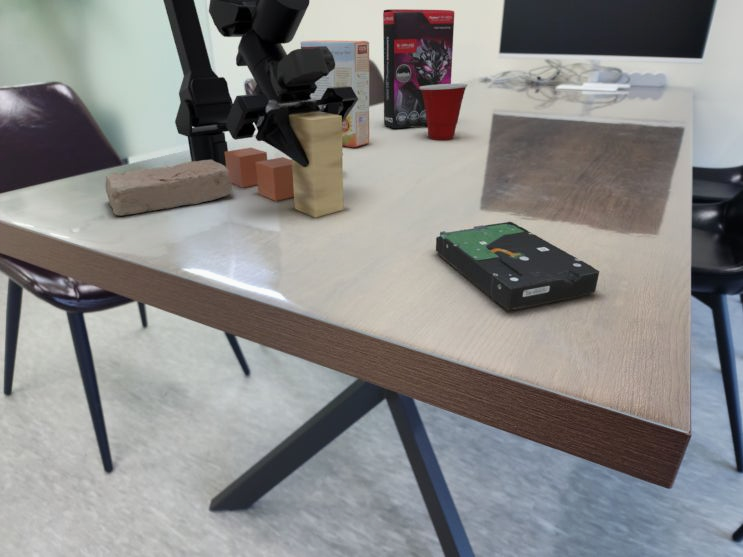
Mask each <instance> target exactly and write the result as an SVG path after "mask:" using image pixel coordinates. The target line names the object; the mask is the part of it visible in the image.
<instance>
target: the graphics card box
mask: <svg viewBox="0 0 743 557" xmlns="http://www.w3.org/2000/svg"><path fill="white" fill-rule="evenodd" d="M455 13H456V12H455V10H452V9H451V10H450V9H414V8H413V9H412V8H411V9H404V8H403V9H401V8H400V9H397V8H394V9H393V8H391V9H384V10H383V12H382V26H383V27H382V29H383V31H382V32H383V40H382V41H383V125H384V126H385V127H389V128H390V129H391V128H392V129H404V128H412V127H414V128H415V127H422V126H423V127H424V126H427V120H426V112H425V103H424V98H423V94H422V91H421V89H420V87H421V86H427V85H438V84H452V72H453V71H452V69H453V53H454V52H453V50H454V29H455Z"/></svg>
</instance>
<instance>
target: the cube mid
mask: <svg viewBox="0 0 743 557" xmlns="http://www.w3.org/2000/svg"><path fill="white" fill-rule="evenodd" d="M255 164H256V174H257V184H258V185H257V193H258V195H260V196H262V197H264V198H267V199H270V200H272V201H275V202H278V201H282V200H286V199H290V198H294V187H293V172H292V159H291V158H288V157H287V158H286V157H283V156H281V157H276V158H271V159H267V160H264V161H259V162H255Z"/></svg>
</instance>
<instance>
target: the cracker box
mask: <svg viewBox="0 0 743 557" xmlns="http://www.w3.org/2000/svg"><path fill="white" fill-rule="evenodd" d="M317 46H327V48H328V49H329V50H330V52H331V53H332V55H333V57H334V61H335V68H334V69H333V70H332V71H331V72H329V74H328V75H327V76H323V77H322V78H321V79H319V80H318V81H316V82H315V84H316V86H317V89H316V91H315V92H314V93H312V94H311V95H310V97H311V99H316V100H320V99H321V98H322V96H323V94H324V93H325V91H326V89H327V88H329V87H341V86H349V87H352V89H353V91H354V92H355V94H356V96H357V98H358V101H357V102H356V104H355V105H354V107H353V108H352V110H351V111H350V113H349V114H348V116H347V117H346V119H345V120H344V121H343V122H342V147H349V148H357V147H361V146H365V145H368V144H370V42H369V41H368V40H336V39H335V40H333V39H331V40H330V39H329V40H325V39H324V40H301V41H300V49H311V48H316V47H317Z"/></svg>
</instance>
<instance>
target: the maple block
mask: <svg viewBox="0 0 743 557" xmlns="http://www.w3.org/2000/svg"><path fill="white" fill-rule="evenodd" d="M289 119H290V125H291V127H292V129H293V131H294V133H295V135H296V136H297V138H298V140H299V142H300V144H301V146H302V147H303V149H304V151H305V153H306V156H307V158H308V161H309V164H308V166H307V167H303V166H301V165H300V164H298V163H297V162H296V161H294V160H293V159H291V160H292V172H293V187H294V197H293V200H294V209H295V210H297V211H299V212H302V213H304V214H306V215H308V216H311V217H313V218H316V219H317V218H319V217H323V216H328V215H330V214H334V213H337V212H338V213H339V212H341V211H344V179H343V178H344V169H343V168H344V164H343V163H344V162H343V160H344V159H343V156H342V152H343V146H342V116H340V115H335V114H330V113H325V112H320V111H317V112H309V113H301V114H293V115H289Z"/></svg>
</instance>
